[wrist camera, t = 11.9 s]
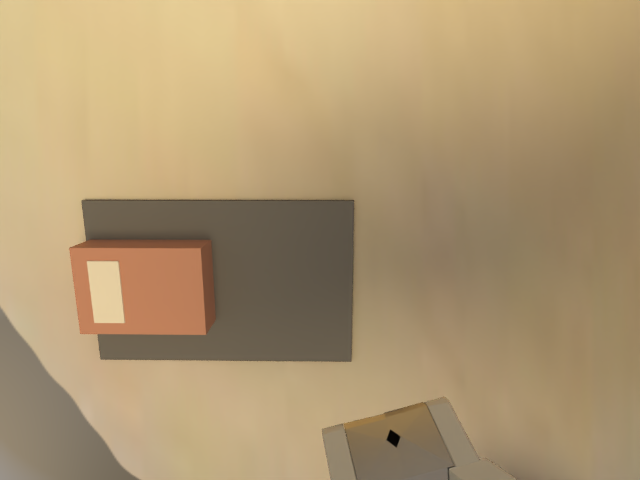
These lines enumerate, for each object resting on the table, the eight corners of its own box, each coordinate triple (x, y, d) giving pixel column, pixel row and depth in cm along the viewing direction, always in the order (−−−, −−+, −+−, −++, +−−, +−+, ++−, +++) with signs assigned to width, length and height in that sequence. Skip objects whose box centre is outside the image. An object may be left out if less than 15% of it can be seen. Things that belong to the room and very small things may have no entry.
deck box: (200, 248, 33) (68, 248, 33) (205, 335, 34) (79, 334, 34) (211, 239, 36) (90, 239, 36) (215, 319, 37) (99, 319, 37)
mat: (353, 200, 35) (353, 201, 35) (351, 359, 38) (351, 361, 38) (84, 199, 35) (81, 200, 35) (102, 357, 38) (100, 359, 38)
